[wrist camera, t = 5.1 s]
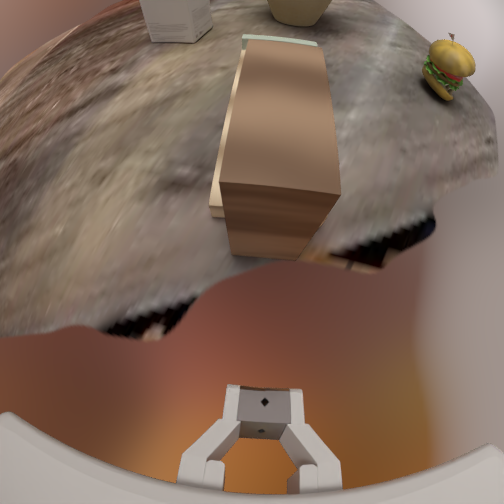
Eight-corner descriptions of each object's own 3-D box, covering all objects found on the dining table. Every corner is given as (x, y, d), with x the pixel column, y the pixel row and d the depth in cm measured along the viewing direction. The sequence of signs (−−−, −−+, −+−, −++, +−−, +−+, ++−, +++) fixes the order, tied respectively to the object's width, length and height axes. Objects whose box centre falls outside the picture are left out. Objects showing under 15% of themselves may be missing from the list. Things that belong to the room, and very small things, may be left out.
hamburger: (457, 112, 28) (493, 64, 17) (426, 101, 28) (462, 45, 16) (437, 80, 30) (465, 34, 19) (405, 70, 30) (432, 17, 18)
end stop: (311, 70, 28) (317, 46, 24) (242, 62, 28) (242, 38, 24) (311, 65, 28) (316, 42, 24) (243, 58, 28) (243, 34, 24)
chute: (320, 227, 22) (327, 216, 20) (212, 216, 22) (208, 205, 20) (312, 70, 28) (315, 57, 26) (242, 62, 28) (242, 49, 26)
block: (295, 260, 21) (341, 194, 11) (231, 254, 21) (218, 181, 11) (298, 140, 24) (322, 48, 14) (246, 135, 24) (248, 39, 14)
